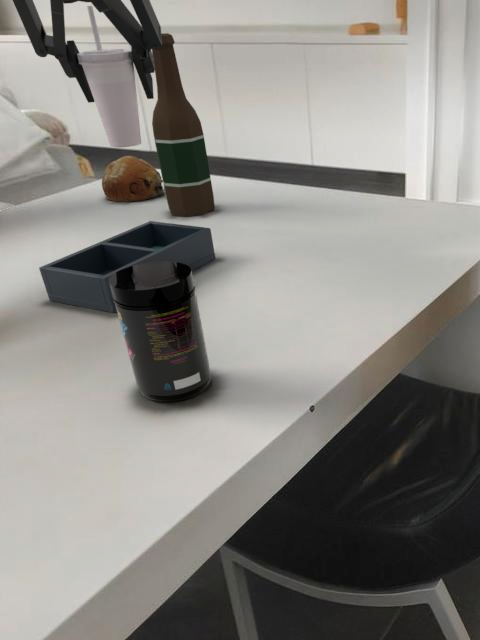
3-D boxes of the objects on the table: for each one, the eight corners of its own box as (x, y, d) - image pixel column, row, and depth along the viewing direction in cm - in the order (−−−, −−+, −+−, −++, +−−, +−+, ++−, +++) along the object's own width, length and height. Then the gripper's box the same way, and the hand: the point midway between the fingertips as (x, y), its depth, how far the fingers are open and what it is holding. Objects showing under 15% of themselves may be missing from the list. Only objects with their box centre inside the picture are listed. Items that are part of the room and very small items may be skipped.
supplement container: (187, 362, 66) (164, 255, 60) (227, 384, 62) (207, 272, 56) (124, 388, 63) (93, 277, 57) (163, 413, 59) (134, 297, 53)
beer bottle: (182, 220, 106) (147, 37, 92) (159, 211, 111) (122, 35, 97) (225, 209, 110) (198, 32, 96) (200, 201, 115) (171, 31, 101)
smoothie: (96, 143, 85) (62, 7, 77) (148, 137, 87) (120, 3, 79) (102, 152, 81) (66, 7, 72) (156, 145, 82) (128, 4, 74)
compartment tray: (49, 300, 81) (38, 267, 79) (156, 250, 95) (150, 220, 93) (114, 312, 77) (104, 278, 75) (215, 258, 91) (210, 227, 89)
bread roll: (151, 206, 127) (130, 163, 125) (180, 187, 120) (158, 140, 118) (107, 220, 121) (84, 174, 118) (135, 200, 114) (111, 151, 111)
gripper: (-72, -54, 60) (40, 123, 83) (153, -64, 61) (202, 113, 84) (-72, -127, 61) (38, 67, 84) (148, -136, 62) (198, 58, 85)
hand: (120, 90), depth 84 cm, fingers closed on smoothie, 6 cm apart
